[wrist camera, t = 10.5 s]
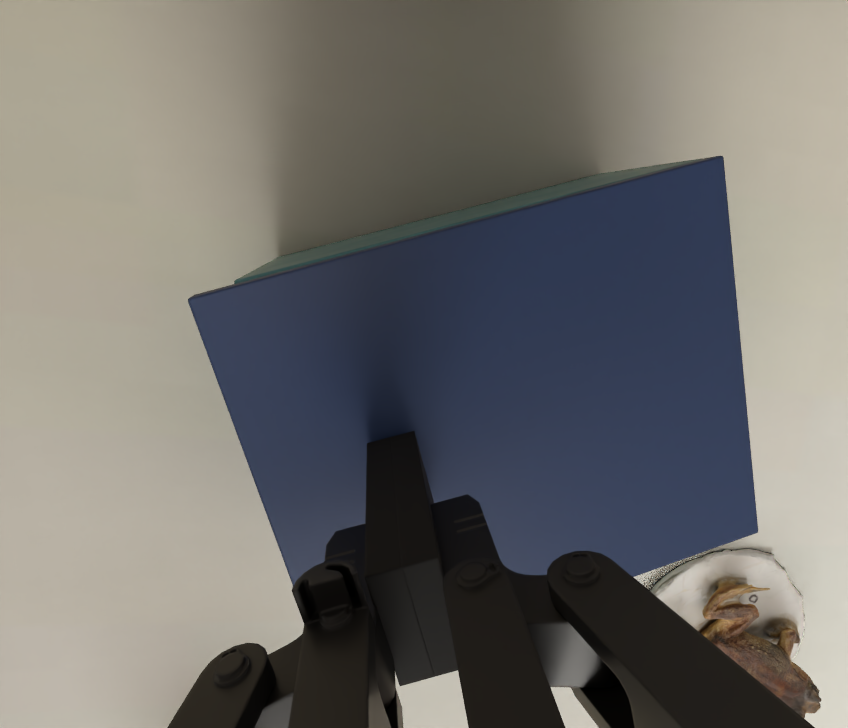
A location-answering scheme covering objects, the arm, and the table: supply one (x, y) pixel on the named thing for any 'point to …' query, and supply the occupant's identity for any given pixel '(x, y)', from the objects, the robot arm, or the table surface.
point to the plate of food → (746, 617)
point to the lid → (509, 376)
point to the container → (446, 221)
